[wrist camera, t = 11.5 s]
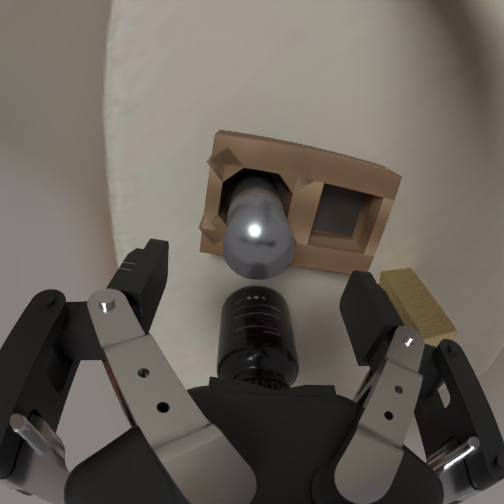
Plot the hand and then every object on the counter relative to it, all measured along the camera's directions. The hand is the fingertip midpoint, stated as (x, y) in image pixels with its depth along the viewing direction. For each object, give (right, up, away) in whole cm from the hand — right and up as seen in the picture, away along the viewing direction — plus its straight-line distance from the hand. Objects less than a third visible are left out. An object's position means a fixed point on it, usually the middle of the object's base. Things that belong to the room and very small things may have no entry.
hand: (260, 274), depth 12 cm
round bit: (0, +6, +11) cm, 13 cm away
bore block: (+3, +5, +12) cm, 13 cm away
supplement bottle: (0, -5, +18) cm, 18 cm away
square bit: (+15, -2, +16) cm, 22 cm away
